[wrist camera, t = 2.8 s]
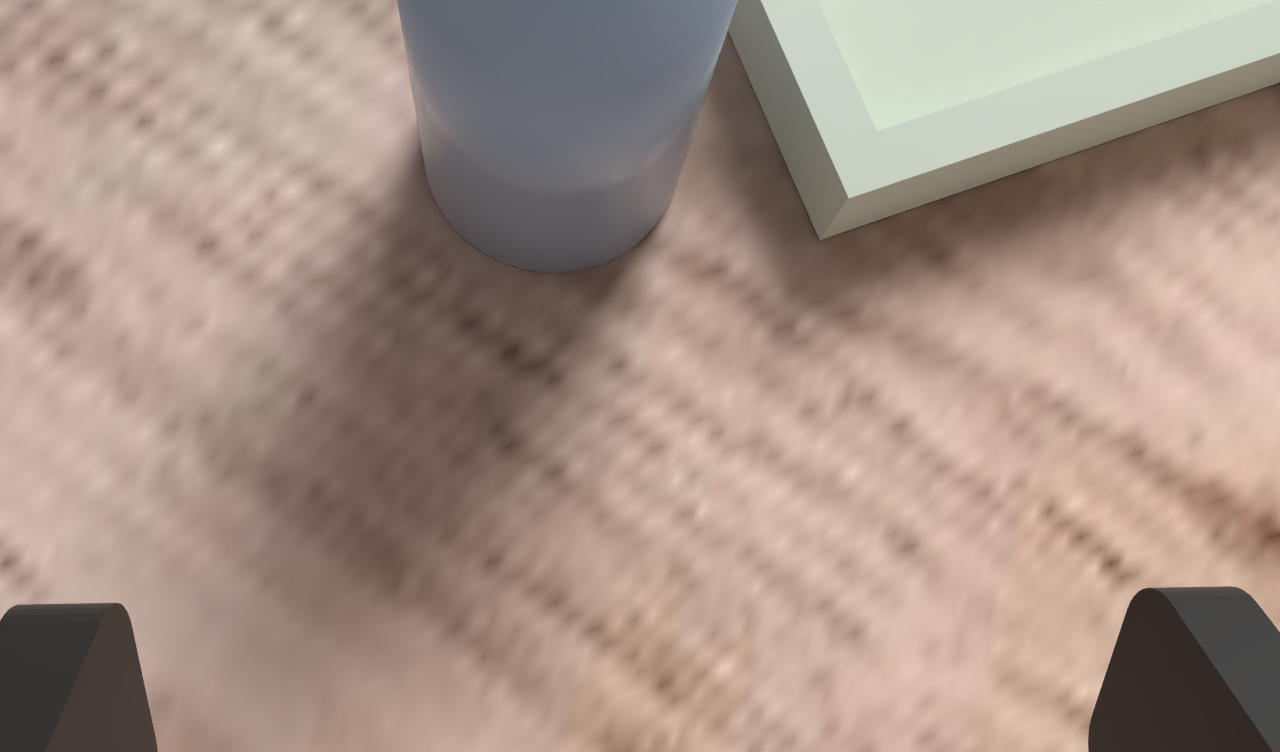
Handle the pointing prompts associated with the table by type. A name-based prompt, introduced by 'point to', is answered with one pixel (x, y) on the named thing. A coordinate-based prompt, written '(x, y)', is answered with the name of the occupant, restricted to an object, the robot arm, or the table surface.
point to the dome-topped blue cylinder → (558, 118)
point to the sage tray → (980, 86)
